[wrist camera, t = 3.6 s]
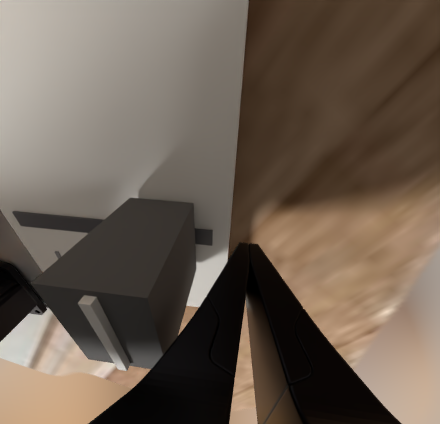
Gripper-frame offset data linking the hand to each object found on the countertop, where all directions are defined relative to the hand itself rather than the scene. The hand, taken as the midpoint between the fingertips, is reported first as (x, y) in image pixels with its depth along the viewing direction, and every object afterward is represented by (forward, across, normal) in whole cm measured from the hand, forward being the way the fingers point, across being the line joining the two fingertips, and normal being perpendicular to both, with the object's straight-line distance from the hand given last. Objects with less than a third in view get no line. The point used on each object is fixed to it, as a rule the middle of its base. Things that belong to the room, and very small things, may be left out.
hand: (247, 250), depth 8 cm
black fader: (0, +4, 0) cm, 4 cm away
